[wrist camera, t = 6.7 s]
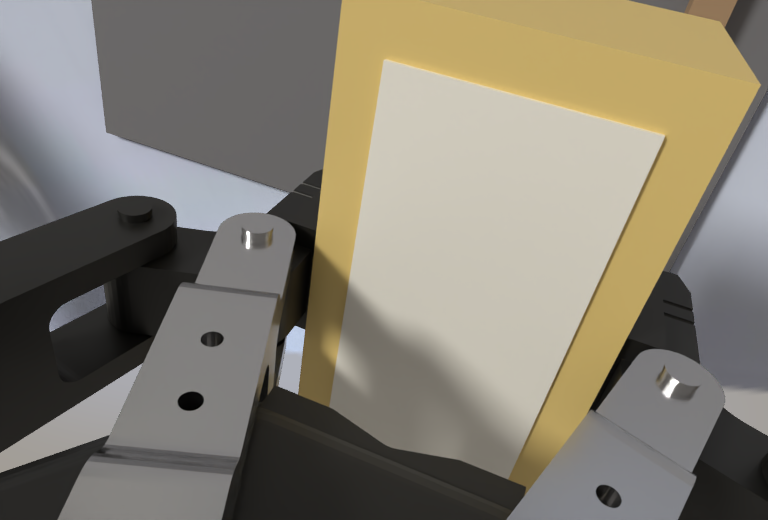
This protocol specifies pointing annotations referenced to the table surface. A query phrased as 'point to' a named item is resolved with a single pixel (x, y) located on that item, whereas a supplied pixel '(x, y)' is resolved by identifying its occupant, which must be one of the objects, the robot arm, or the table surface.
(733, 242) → the table surface
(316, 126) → the mat
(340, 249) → the card box
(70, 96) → the table surface
